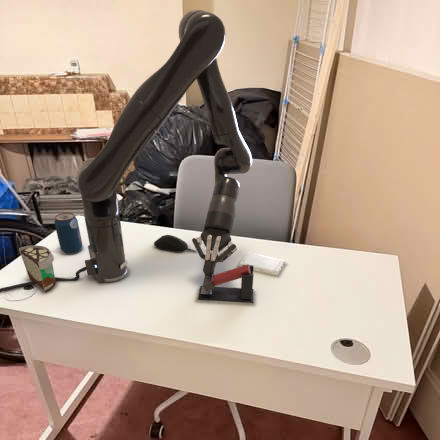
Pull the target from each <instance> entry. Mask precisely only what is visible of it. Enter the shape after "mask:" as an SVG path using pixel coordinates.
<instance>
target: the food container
mask: <svg viewBox="0 0 440 440" xmlns="http://www.w3.org/2000/svg"><path fill="white" fill-rule="evenodd" d="M18 252H19V255H20V256H21V258H22V261H23V265H24V268H25V271H26V274H27V276H28V279H29V282H31V281H35V282H36V284H34V285H35V286H36V287H37V288H39V289H40V290H41V291H42V292H44V293H48V292H49V291H51V290H52V289H54V287H55V286H56V283H57V282H56V281H55V277H56V276H55V271H54V265H53V263H54V260H55V256H54V254H53V252H52V251H51V250H50V248H48V247H47V246H43V245H26V246H21V247H19V248H18Z"/></svg>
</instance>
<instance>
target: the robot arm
mask: <svg viewBox="0 0 440 440" xmlns="http://www.w3.org/2000/svg"><path fill="white" fill-rule="evenodd" d="M177 33H178V39H179V42H178V44H177V46H176V48H175V49H174V51H173V53H172V54H171V55H170V57H169V58H168V59H167V61H166V62H165V63H164V64H162V66H161V67H159V68H158V69H157V70H156V71H155V72H154V73H153V74H151V75H150V76H148V77H147V79H146V80H144V81H143V82H142V83H141V84H140V85H139V86H138V88H136V90H135V91H134V93H133V94H132V95H131V97H130V98H129V100H128V101H127V103H126V104H125V106H124V107H123V108H122V111H121V112H120V114H119V115H118V118H117V119H116V121H115V124H114V126H113V128H112V130H111V133H110V135H109V137H108V139H107V141H106V143H105V144H104V146H103V147H102V149H101V150H100V151H99V152H98V154H97V155H96V156H94V157H91V158H87V159H85V160H83V161H82V162H81V164H79V167H78V170H77V173H76V185H77V189H78V192H79V193H80V197H81V201H82V209H83V218H84V222H85V226H86V232H87V233H86V234H87V238H88V244H89V245H87V250H88V255H89V259H84V265H85V266H84V267H82V268H80V269H78V270H76V271H75V276H74V277H73V278H65V277H57V276H55V282H56V281H57V282H76V281H78V280H80V278H81V277H80V276H81V275H80V274H81V273H83V272H85V271H86V275H87V277H91V276H92V277H93V276H94V277H95V278H96V279H97V280H98V282H99V283H112V282H117V281H120V280H123V279H124V278H126V276H128V267H127V265H128V260H127V259H126V254H125V246H124V238H123V231H122V223H121V215H120V208H119V201H118V193H117V187H118V185H119V183H120V182H121V180H122V179H123V177H124V175H125V174H126V172H127V170H128V169H129V167H130V166H131V164H132V162H134V160H135V159H136V158H137V157H138V156H139V155H140V154H141V153H142V152H143V150H144V149H145V148H146V147H147V145H148V144H149V143H150V141H151V140H152V139H153V138H154V137H155V135H156V134H157V133H158V132H159V130H160V129H161V128H162V126H163V125H164V123H165V122H166V121H167V120H168V118H169V116H170V115H172V112H173V111H174V109H176V107H177V106H178V104H179V103H180V102H181V100H182V99H183V97H184V96H185V94H186V93H187V91H188V90H189V88H190V87H191V86H192V85H193V83H194V82H197V85H198V88H199V91H200V94H201V98H202V101H203V105H204V108H205V111H206V115H207V119H208V123H209V127H210V130H211V133H212V137H213V140H214V142H215V144H217V145H221V146H225V147H223V148H220V149H218V150H217V152H216V153H215V155H214V159H213V163H214V164H213V165H214V167H213V168H214V187H213V191H212V195H211V199H210V201H209V205H208V209H207V214H206V218H205V222H204V227H203V231H202V232H201V233H200V236H198V237H193V238H192V239H191V242H192V244H193V246H194V248H195V251H196V252H197V254H198V256H199V258H201V260H203V261H204V263H203V268H202V272H203V273H204V276H205V275H206V276H211V274H214V275H215V270H216V265H217V264H218V263H223V262H225V261H226V260H227V259H228V258H229V257H230V256H231V255H233V254H234V253H235V252H236V251H237V250H238V247H237V245H236V244H235V243H233V241H232V236H231V235H232V230H233V227H234V221H235V218H236V213H237V203H238V198H239V194H240V188H241V185H240V182H239V181H238V180H237V179H236V178H233V177H231V176H228V175H241V174H247V173H248V172H249V171H250V170H251V169H252V164H253V157H252V153H251V150H250V148H249V147H248V145H247V143H246V142H245V139H244V138H243V135H242V134H241V131H240V130H239V126H238V121H237V117H236V112H235V109H234V106H233V103H232V99H231V97H230V95H229V92H228V90H227V88H226V86H225V83H224V81H223V77H222V75H221V72H220V67H219V64H218V59H217V57H218V56H219V55H220V53H221V52H222V50H223V48H224V45H225V42H226V27H225V25H224V22H223V20H222V19H221V18H220V17H219V16H218V15H216V14H214V13H213V12H209V11H206V10H202V9H191V10H189V11H187V12H186V13H185V14H184V15H183V16H182V18H181V19H180V21H179V25H178V32H177ZM202 244H203V245H204V247H205V253H204V251H203V248H202V247H201V246H202ZM225 248H226V249H225ZM224 249H225V250H224ZM223 250H224V251H223ZM221 251H223V252H222V253H221ZM35 284H36V282H35V281H26V282H22V283H18V284H12V285H9V286H5V287H1V288H0V293H1V292H7V291H10V290H11V291H12V290H16V289H19V288H20V289H21V288H25V287H28V286H32V285H33V286H34V285H35Z"/></svg>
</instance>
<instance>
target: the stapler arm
mask: <svg viewBox="0 0 440 440" xmlns="http://www.w3.org/2000/svg"><path fill="white" fill-rule="evenodd" d="M242 274H251V269H250V266H249V264H248V265H244V266H238V267H234V268H232V269H229V270H226V271H222V272H219V273H216V274H215V273H214V274H211V276H206V275H205V274H204V277H203V282H202V286H203V287H204V289H205V291H209V290H213V289H214V287H218V286H220V285H223V284H226V283H229V282H233V281H236V280H239V279H242Z"/></svg>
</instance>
